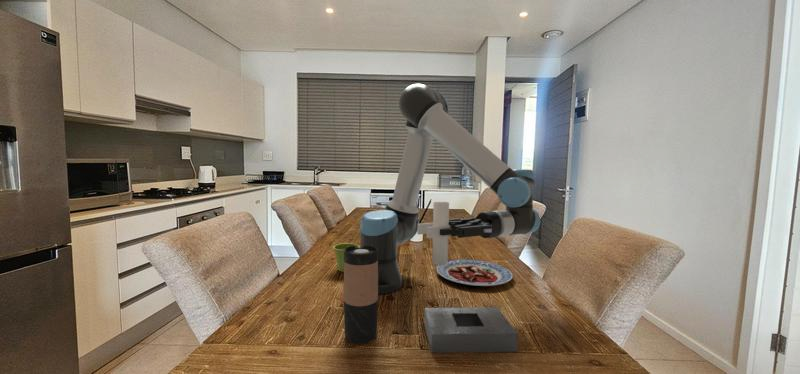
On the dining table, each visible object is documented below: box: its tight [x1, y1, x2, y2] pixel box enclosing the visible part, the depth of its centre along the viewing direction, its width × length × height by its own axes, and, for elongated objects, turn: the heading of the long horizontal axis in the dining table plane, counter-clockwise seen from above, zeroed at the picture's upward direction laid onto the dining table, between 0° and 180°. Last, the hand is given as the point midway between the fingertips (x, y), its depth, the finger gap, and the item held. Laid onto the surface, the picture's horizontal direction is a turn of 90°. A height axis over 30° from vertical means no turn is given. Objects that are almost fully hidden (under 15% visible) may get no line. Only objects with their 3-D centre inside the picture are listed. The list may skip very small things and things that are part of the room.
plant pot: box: [332, 243, 360, 273], centre depth 115 cm, size 9×9×9 cm
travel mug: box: [343, 245, 379, 345], centre depth 71 cm, size 8×8×20 cm
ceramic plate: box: [436, 259, 513, 287], centre depth 111 cm, size 26×26×3 cm
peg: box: [431, 201, 450, 266], centre depth 82 cm, size 4×4×16 cm
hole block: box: [423, 306, 518, 354], centre depth 72 cm, size 18×12×4 cm, turn 92°
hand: (422, 230), depth 80 cm, fingers closed on peg, 4 cm apart
